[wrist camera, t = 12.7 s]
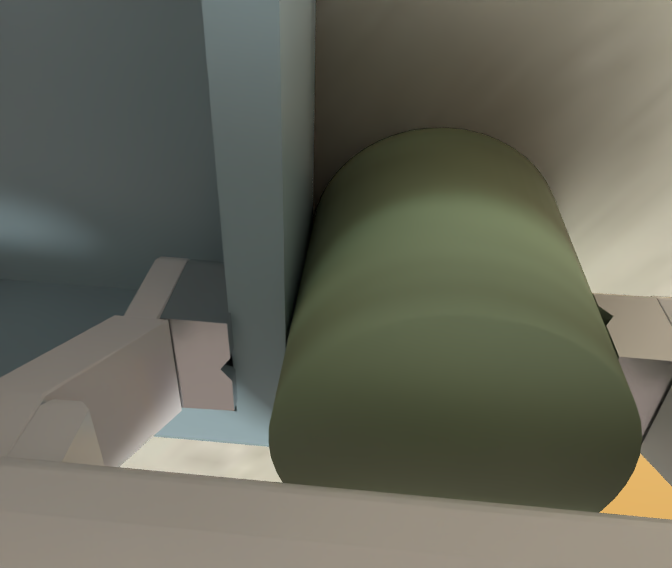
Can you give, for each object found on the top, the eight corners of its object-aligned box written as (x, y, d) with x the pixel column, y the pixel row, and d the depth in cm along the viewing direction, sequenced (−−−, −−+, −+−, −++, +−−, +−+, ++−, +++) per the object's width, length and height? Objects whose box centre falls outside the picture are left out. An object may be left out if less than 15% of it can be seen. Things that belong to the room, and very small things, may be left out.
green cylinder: (311, 121, 11) (257, 300, 7) (586, 134, 11) (699, 329, 6) (313, 327, 14) (276, 542, 10) (531, 341, 13) (587, 568, 9)
